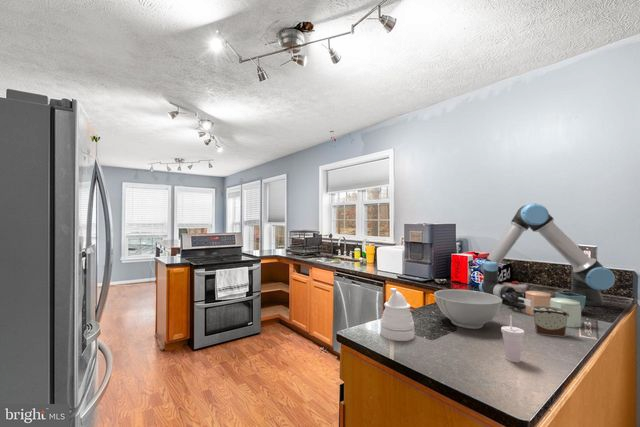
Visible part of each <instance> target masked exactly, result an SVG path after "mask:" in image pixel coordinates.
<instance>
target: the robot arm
mask: <svg viewBox="0 0 640 427" xmlns="http://www.w3.org/2000/svg"><path fill="white" fill-rule="evenodd" d="M529 228H530V230H531V231H532V232H534V233H535V232H536V233H538V234H539V235H540V236H541V237H543V239H544V240H545V241H546V242H548V244H550V246H552V247H553V248H554V249H555V251H557V252H558V253H559V254H560V256H561V257H563V258H564V260H565V261H567V262H568V263H569V264H570V270H571V272H570V274H571V288H570V290H569V293H575V294H579V295H582V296H585V297H586V301H585V306H592V307H603V306H604V305H605V300H604V298H603V295H602V293H601V291H606V290H608V289H610V288H612V287H613V286H614V284H615V282H616V275H615V274H614V272H613V271H612V270H611V269H609V268H607V267H604V266H603V264H601V263H600V262H599V261H598V259H596V258H593V257H589V256H588V255H587V253H585V252H584V251H583V250H582V249H581V248H580V247H579V246H578V245H577V244H576V242H574V241H573V240H572V239H571V238H570V237H569V236H568V235H567V234H565V232H564V231H563V230H562V229H561V228H560V227H559V226H558V225H556V224H555V223H554V217H553V216H552V215H551V214H549V210H548V209H547V207H545V206H544V205H542V204H539V203H528V204H525V205H523V206H521V207H519V209H518V210H517V211H516V213H515V215H514V216H513V217H512V219H511V221H510V225H509V227H508V228H507V229H506V231H505V232H504V233H503V235H502V236H501V237H500V239H499V240H498V242H497V244H496V245H495V246H494V248H493V249H492V251H491V252H490V253H489V255H488V256H487V257H486V259H485V260H484V262H481V264H480V271H481V272H482V273H483V274H482V275H483V276H482V277H483V280H482V281H480V283H479V285H478V289H479V292H484V293H488V294H492V295H495V296H498V297H500V298H501V299H502V300H504V301H507V302H510V303H512V304H515V305H518V304H521V305H524V306H526V305H527V306H532V301H531V300H528V299H526V298H525V293H526V292H518V291H515V289H514V288H512V287H508V286H505V285H502V284H500V283H499V266H500V264H502V262H503V260H504V259H505V258H506V256H507V254H509V252H510V251H511V250H512V248H513V247H514V245H516V242H517V241H518V240H519V238H520V237H522V236H521V235H523V233H524V232H527V231H528V230H529ZM523 297H524V298H523Z"/></svg>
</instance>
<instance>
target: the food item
mask: <svg viewBox="0 0 640 427" xmlns="http://www.w3.org/2000/svg"><path fill="white" fill-rule="evenodd" d="M501 285H505V286H508V287H512V288H514V289H515V291H518V292H526V291H530V285H529V284H525V283H524V284H523V283H520V282H519V281H517V280H513V281H511V282H503V283H501ZM523 298H524V297H523Z"/></svg>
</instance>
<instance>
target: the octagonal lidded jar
mask: <svg viewBox="0 0 640 427" xmlns="http://www.w3.org/2000/svg"><path fill="white" fill-rule="evenodd" d="M525 298H526V299H528V300H531V301H532V306H527V305H525V312H526V313H525V314H528V315H529V316H530V315H531V316H534V313H531V312H532V308H533V307H534V306H549V307H550V300H551V298H553V297H552V294H551V293H548V292H545V291H538V290H529V291H526V293H525Z"/></svg>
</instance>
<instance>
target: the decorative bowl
mask: <svg viewBox="0 0 640 427" xmlns="http://www.w3.org/2000/svg"><path fill="white" fill-rule="evenodd" d="M433 295H434V296H433V297H434V300H435V302H436V304H437V307H438V308H439V310H440V311H441V312H442V314H443V315H444V316H445V317H446V318H447V319H449V320H450V322H451V324H453V325H455V326H457V327H460V328H463V329H471V330H472V329H475V330H476V329H482V328H483V326H484V325H485V324H488V323H489V322H491V321H492V320H493V319H494V318H495V317H496V316H497V315H498V313H499V311H501V307H502V304H503V299H501V298H500V297H498V296H495V295H492V294H488V293H484V292H481V291H478V290H470V289H469V290H468V289H460V288H459V289H440V290H436V291H435V292H434V293H433Z"/></svg>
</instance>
